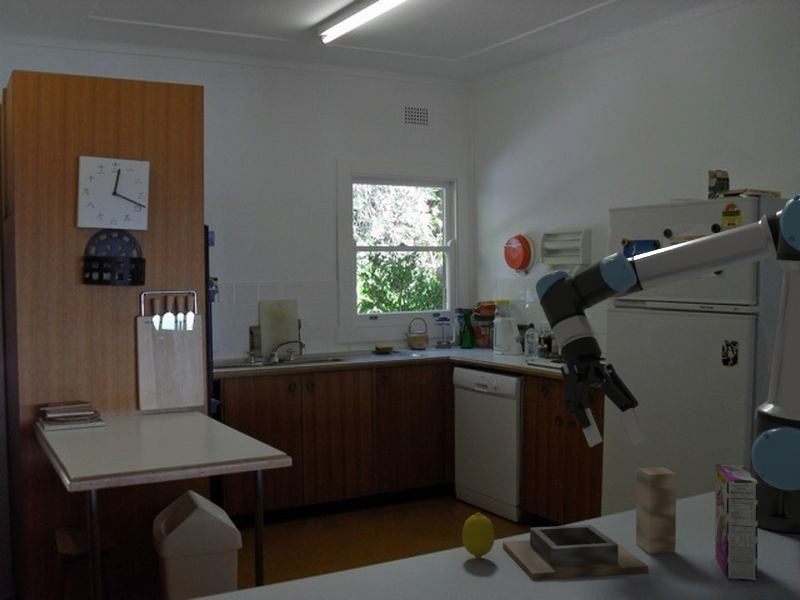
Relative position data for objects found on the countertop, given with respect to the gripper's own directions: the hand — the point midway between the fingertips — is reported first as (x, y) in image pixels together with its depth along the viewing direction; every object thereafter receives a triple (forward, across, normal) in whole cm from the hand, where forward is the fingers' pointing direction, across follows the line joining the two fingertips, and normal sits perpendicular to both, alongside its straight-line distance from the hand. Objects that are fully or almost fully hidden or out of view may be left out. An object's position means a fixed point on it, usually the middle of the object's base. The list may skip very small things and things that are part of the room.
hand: (618, 443), depth 153 cm
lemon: (+13, +28, -17) cm, 35 cm away
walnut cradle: (+18, +15, -8) cm, 25 cm away
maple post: (+19, -1, -2) cm, 20 cm away
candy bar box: (+27, -2, +10) cm, 29 cm away
